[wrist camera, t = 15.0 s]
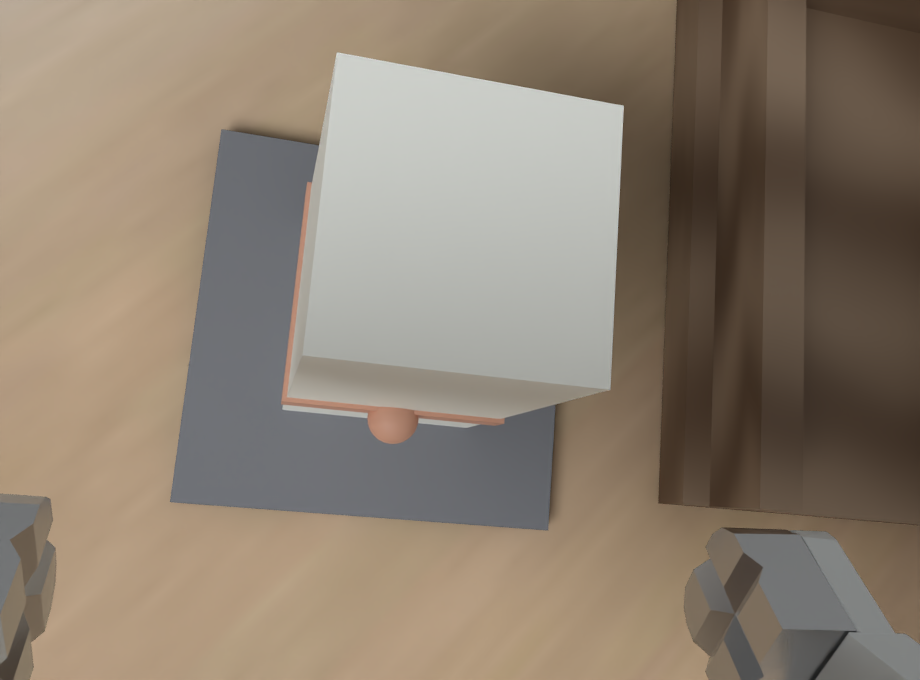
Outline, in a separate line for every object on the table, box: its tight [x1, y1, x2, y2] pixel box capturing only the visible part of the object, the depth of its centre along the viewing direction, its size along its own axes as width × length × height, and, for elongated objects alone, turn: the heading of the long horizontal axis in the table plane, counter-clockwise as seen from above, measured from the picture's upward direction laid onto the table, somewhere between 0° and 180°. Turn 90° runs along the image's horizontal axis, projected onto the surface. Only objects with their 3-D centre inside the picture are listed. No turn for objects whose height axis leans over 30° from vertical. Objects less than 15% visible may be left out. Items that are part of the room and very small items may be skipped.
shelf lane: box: [659, 0, 920, 525], centre depth 26 cm, size 17×11×4 cm, turn 175°
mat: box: [170, 130, 556, 530], centre depth 24 cm, size 10×10×1 cm
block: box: [281, 52, 624, 444], centre depth 19 cm, size 6×5×10 cm
